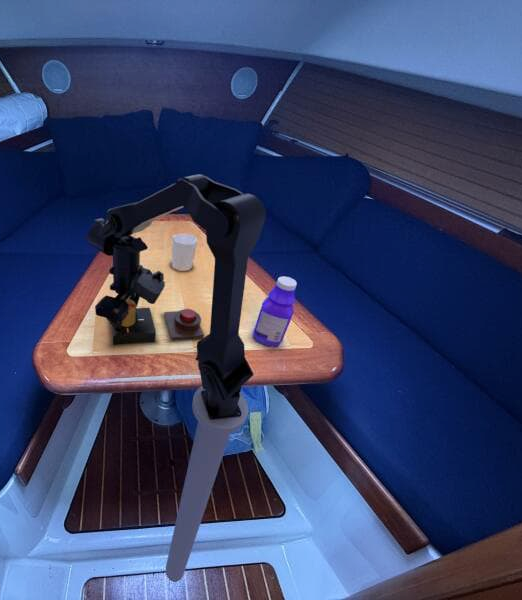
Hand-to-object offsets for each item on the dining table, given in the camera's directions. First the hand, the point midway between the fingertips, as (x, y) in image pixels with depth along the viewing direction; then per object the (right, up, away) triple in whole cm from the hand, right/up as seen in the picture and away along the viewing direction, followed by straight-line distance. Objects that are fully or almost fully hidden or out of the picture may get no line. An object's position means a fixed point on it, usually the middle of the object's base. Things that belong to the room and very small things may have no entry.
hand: (126, 320), depth 78 cm
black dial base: (+1, -3, +2) cm, 4 cm away
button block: (+14, -2, +4) cm, 15 cm away
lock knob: (0, 0, 0) cm, 0 cm away
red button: (+15, 0, +3) cm, 16 cm away
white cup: (+16, +16, +31) cm, 38 cm away
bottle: (+35, -5, +3) cm, 35 cm away
